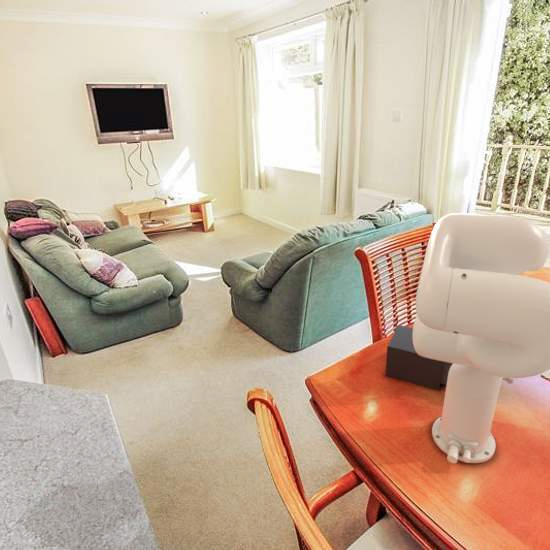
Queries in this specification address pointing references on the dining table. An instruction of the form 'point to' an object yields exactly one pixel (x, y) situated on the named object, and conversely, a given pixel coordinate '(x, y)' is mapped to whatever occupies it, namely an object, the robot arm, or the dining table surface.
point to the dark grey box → (411, 361)
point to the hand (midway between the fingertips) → (472, 337)
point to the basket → (445, 371)
